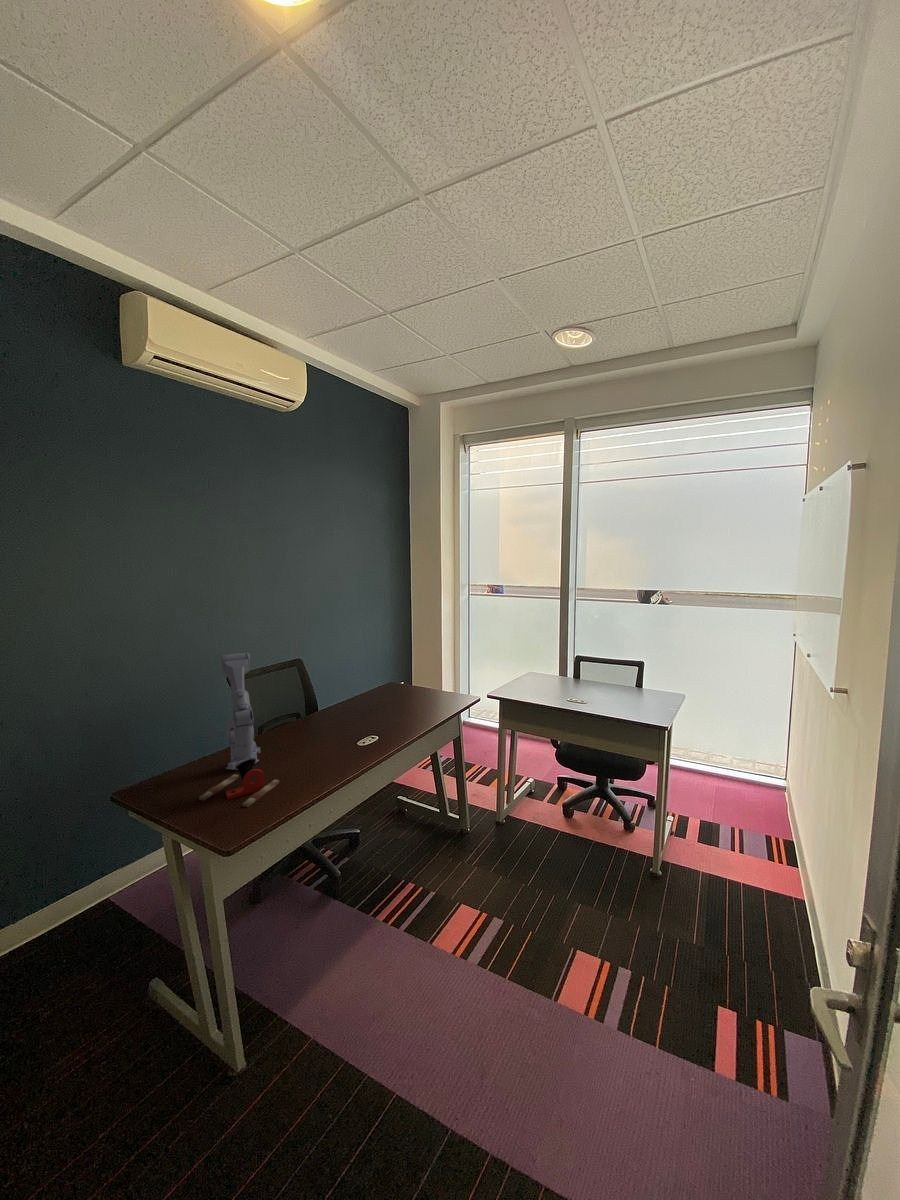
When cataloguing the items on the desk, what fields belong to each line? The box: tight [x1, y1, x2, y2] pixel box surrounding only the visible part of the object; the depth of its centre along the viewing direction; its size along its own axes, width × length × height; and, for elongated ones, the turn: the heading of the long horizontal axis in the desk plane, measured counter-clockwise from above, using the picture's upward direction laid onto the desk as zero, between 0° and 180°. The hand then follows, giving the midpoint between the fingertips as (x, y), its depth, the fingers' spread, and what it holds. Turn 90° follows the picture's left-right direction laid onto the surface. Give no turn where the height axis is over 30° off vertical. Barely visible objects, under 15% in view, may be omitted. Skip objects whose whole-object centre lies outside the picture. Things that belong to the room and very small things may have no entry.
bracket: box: [225, 768, 266, 800], centre depth 167 cm, size 12×4×8 cm, turn 124°
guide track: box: [198, 773, 280, 808], centre depth 168 cm, size 17×19×1 cm
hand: (246, 780), depth 171 cm, fingers closed
